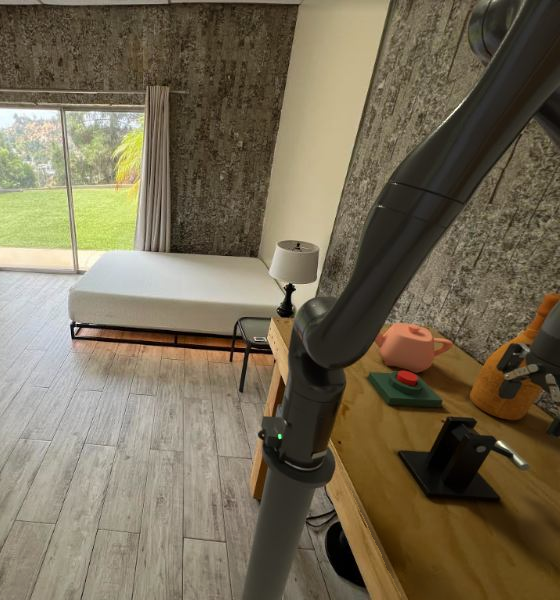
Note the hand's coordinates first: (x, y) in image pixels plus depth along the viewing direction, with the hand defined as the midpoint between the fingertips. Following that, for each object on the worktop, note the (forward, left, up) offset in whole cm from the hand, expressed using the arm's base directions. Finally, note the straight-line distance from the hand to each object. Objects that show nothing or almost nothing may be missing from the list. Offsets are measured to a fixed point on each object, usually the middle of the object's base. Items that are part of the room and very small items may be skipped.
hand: (528, 415), depth 54 cm
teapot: (+4, +37, -16) cm, 41 cm away
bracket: (-9, -1, -16) cm, 18 cm away
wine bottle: (+16, +19, -16) cm, 30 cm away
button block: (-3, +23, -16) cm, 28 cm away
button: (-3, +23, -12) cm, 26 cm away
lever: (-5, -1, -8) cm, 9 cm away
